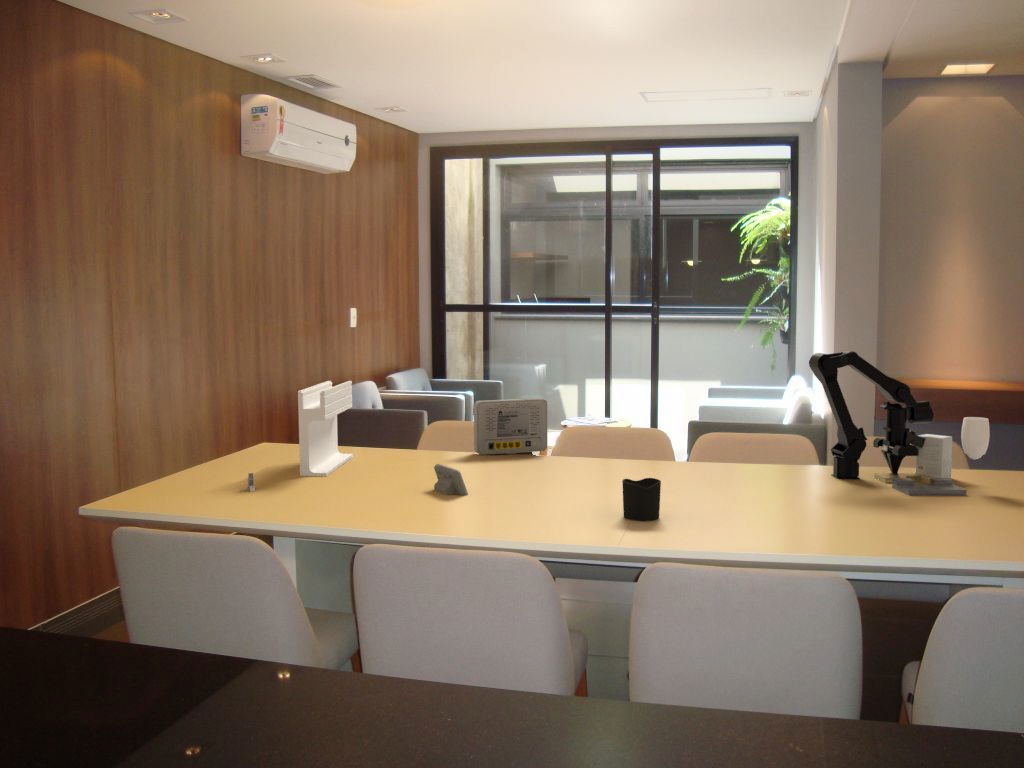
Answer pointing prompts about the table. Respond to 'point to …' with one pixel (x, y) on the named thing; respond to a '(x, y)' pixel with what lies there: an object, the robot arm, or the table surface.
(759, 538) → the table surface
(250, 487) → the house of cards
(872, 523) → the table surface
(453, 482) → the digital clock
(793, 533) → the table surface
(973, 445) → the grey rounded piece
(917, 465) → the small box
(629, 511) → the pen holder
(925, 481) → the tan rectangular slab
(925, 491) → the fixed leaf
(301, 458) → the white device stand
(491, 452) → the network device
